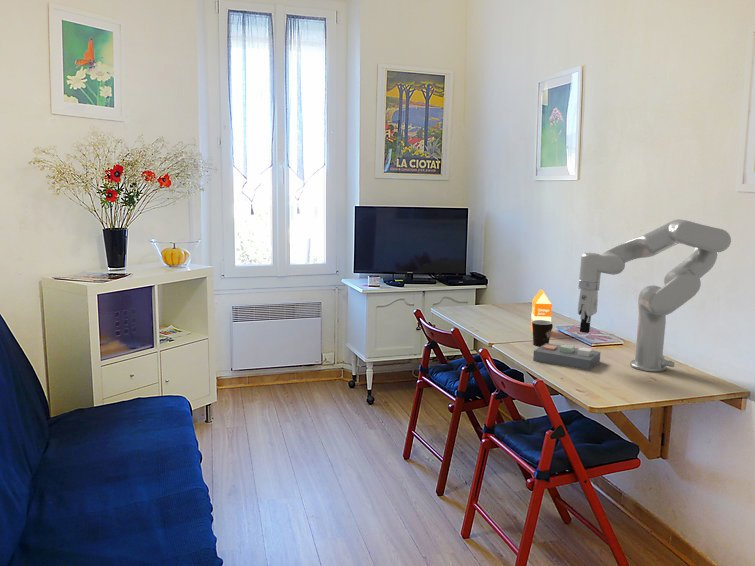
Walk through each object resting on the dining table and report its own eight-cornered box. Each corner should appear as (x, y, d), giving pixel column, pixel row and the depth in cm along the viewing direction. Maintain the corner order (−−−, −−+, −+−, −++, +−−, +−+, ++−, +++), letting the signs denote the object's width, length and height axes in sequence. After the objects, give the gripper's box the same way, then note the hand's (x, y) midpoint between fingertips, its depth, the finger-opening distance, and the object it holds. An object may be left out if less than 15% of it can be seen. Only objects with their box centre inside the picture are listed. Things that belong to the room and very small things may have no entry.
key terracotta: (556, 353, 246) (557, 346, 246) (552, 356, 243) (553, 348, 242) (545, 352, 249) (546, 344, 248) (542, 354, 245) (542, 346, 245)
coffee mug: (537, 347, 261) (538, 325, 259) (527, 342, 269) (528, 320, 267) (561, 346, 264) (562, 323, 262) (550, 341, 272) (551, 319, 271)
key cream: (592, 356, 238) (592, 349, 238) (588, 359, 235) (589, 351, 234) (580, 355, 241) (581, 347, 240) (577, 357, 237) (577, 349, 237)
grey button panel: (599, 361, 242) (600, 352, 241) (589, 370, 230) (590, 360, 230) (545, 352, 254) (546, 343, 253) (533, 360, 243) (533, 350, 242)
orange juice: (547, 330, 292) (549, 289, 288) (550, 334, 283) (552, 292, 280) (530, 329, 293) (532, 288, 289) (533, 334, 284) (535, 292, 281)
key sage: (574, 353, 242) (574, 346, 242) (570, 356, 239) (571, 348, 238) (563, 352, 245) (563, 344, 244) (559, 354, 241) (560, 346, 241)
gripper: (593, 289, 225) (588, 337, 228) (604, 284, 237) (599, 330, 240) (573, 286, 229) (568, 334, 232) (584, 281, 241) (580, 327, 244)
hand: (584, 332), depth 236 cm, fingers closed
